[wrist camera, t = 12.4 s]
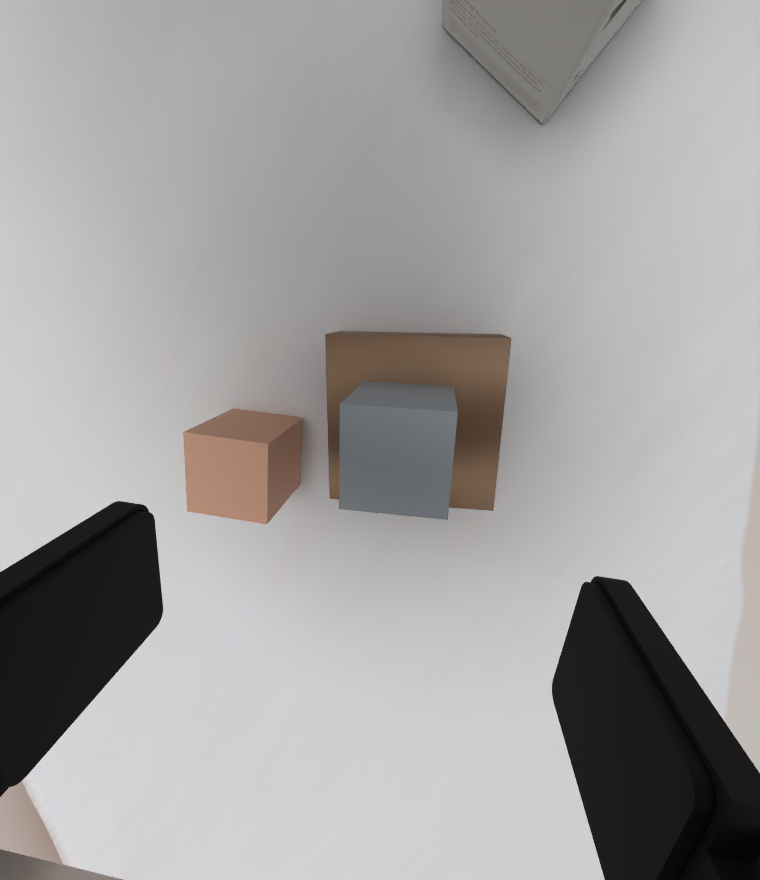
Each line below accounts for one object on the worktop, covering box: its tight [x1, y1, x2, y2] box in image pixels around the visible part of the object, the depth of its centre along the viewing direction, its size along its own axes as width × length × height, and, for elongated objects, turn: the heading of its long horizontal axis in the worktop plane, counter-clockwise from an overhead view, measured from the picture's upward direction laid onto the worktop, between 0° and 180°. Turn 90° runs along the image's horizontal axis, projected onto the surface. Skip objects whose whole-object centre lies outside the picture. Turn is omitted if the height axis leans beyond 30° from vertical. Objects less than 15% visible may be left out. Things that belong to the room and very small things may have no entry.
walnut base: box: [325, 331, 511, 511], centre depth 26 cm, size 10×10×4 cm
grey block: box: [339, 381, 458, 520], centre depth 21 cm, size 5×5×6 cm
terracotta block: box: [183, 409, 302, 524], centre depth 27 cm, size 5×5×6 cm
